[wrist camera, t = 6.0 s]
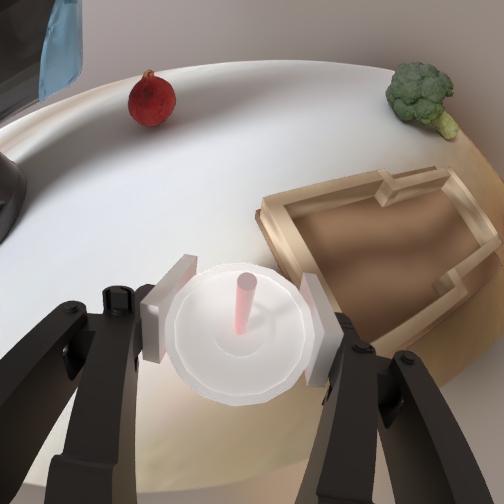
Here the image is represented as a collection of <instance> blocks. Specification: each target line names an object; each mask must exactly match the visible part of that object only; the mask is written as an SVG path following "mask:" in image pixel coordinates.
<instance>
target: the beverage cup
mask: <svg viewBox="0 0 504 504" xmlns="http://www.w3.org/2000/svg"><path fill="white" fill-rule="evenodd" d="M165 339H166V351H167V353H168V355H169V357H170V360H171V362H172V364H173V366H174V368H175V370H176V372H177V374H178V376H179V377H180V378H181V379H182V380H183V381H184V382H186V383H187V384H188V385H189V386H190V387H191V388H193V389H194V390H195V391H196V392H197V393H198V394H200V395H201V396H202V397H204V398H207V399H211V400H214V401H217V402H220V403H224V404H227V405H230V406H241V405H251V404H259V403H265V402H267V401H269V400H271V399H272V398H274V397H276V396H278V395H279V394H281V393H283V392H285V391H286V390H288V389H290V388H291V387H292V386H293V385H294V383H295V382H296V381H297V379H298V378H299V377H300V375H301V374H302V373H303V371H304V370H305V369H306V367H307V366H308V364H309V362H310V357H311V353H312V348H313V344H314V339H315V332H314V327H313V321H312V316H311V311H310V308H309V306H308V305H307V303H306V302H305V300H304V299H303V297H302V296H301V294H300V292H299V291H298V289H297V288H296V286H295V285H293V284H292V283H291V282H289V281H288V280H287V279H285V278H284V277H282V276H281V275H280V274H278V273H277V272H276V271H274V270H272V269H269V268H265V267H262V266H258V265H255V264H251V263H248V262H242V263H229V264H219V265H216V266H214V267H212V268H210V269H208V270H205V271H203V272H201V273H199V274H197V275H194V276H193V277H192V278H191V279H190V280H189V281H188V283H187V284H186V285H185V286H184V287H183V288H182V289H181V290H180V291H179V292H178V293H177V294H176V295H175V297H174V299H173V302H172V304H171V307H170V310H169V312H168V315H167V317H166V321H165Z"/></svg>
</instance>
